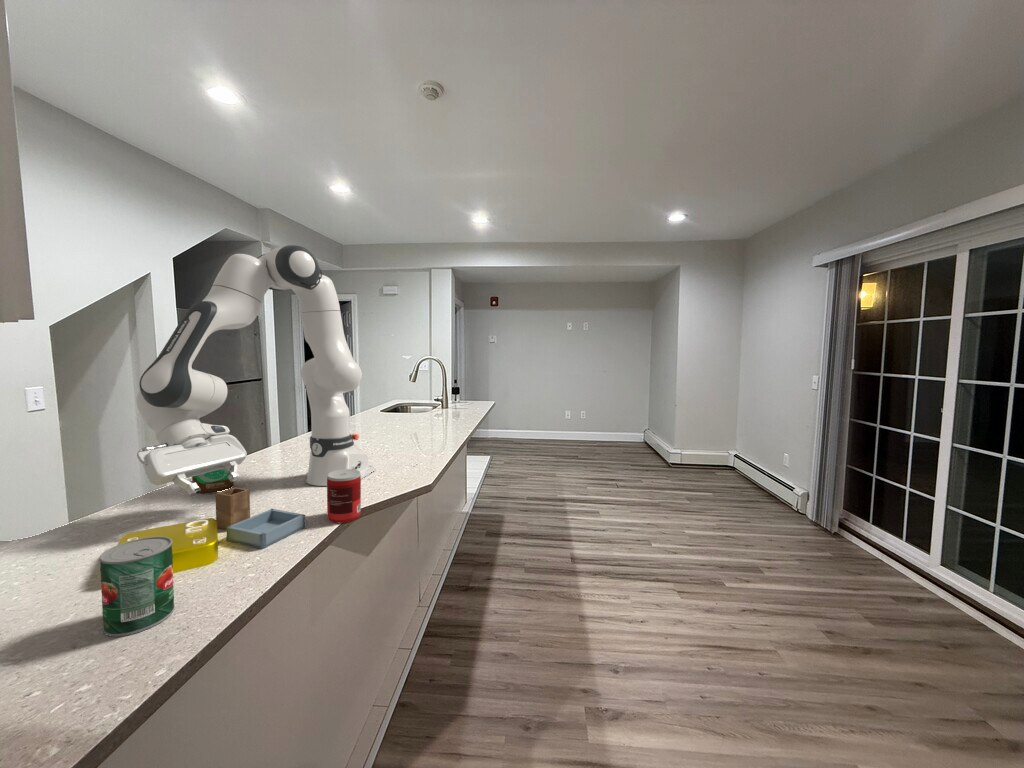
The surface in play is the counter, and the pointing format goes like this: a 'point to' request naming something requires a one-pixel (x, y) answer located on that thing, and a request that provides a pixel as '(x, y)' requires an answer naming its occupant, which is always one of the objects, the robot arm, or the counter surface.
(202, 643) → the counter surface
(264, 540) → the slate tray
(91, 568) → the counter surface
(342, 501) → the canned food
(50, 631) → the counter surface
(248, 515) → the walnut tube
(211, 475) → the food container
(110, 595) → the canned tomato
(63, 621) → the counter surface
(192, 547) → the element tile
